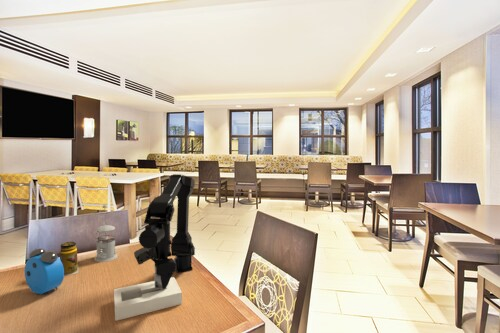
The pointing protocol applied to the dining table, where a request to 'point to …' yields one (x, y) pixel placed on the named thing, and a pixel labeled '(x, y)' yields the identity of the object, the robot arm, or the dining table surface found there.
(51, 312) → the dining table surface
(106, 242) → the french press
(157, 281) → the keyhole peg
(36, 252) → the alarm clock
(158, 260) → the robot arm
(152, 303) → the keyhole board
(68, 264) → the condiment
